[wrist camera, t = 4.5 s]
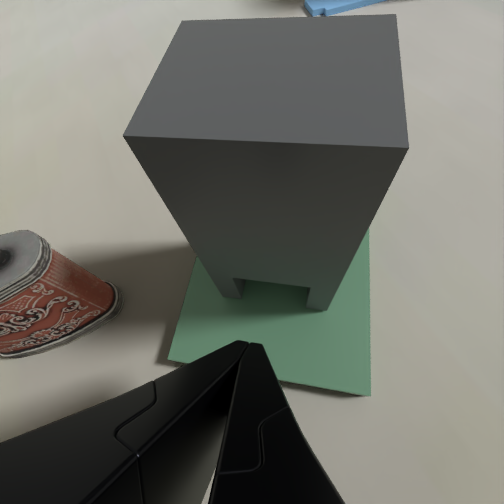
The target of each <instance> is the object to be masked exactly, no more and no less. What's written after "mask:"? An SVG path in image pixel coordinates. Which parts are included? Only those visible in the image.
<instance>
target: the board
mask: <svg viewBox="0 0 504 504" xmlns="http://www.w3.org/2000/svg"><path fill="white" fill-rule="evenodd" d="M307 288H308V287H303V286H295V285H287V284H279V283H271V282H263V281H255V280H247V279H246V280H245V285H244V290H243V295H242V299H237V298H229V297H222V295H221V293H220V292H219V290H218V289H217V287H216V285H215V284H214V282H213V280H212V279H211V277H210V276H209V274H208V272H207V271H206V269H205V268H204V266H203V264H202V263H201V261H200V260H199V258H198V256H197V257H196V260H195V264H194V267H193V271H192V274H191V278H190V281H189V285H188V288H187V292H186V295H185V299H184V302H183V306H182V309H181V313H180V316H179V320H178V323H177V327H176V330H175V334H174V337H173V341H172V345H171V348H170V352H169V355H168V360H171V361H174V362H180V363H185V364H188V363H190V362H193V361H195V360H197V359H199V358H201V357H203V356H205V355H207V354H209V353H211V352H213V351H215V350H217V349H219V348H221V347H224V346H226V345H228V344H230V343H232V342H234V341H236V340H242V341H247V342H249V343H251V342H254V343H260V344H262V345H263V346H264V349H265V351H266V353H267V355H268V358H269V360H270V362H271V365H272V367H273V369H274V372H275V374H276V376H277V378H278V381H284V382H289V383H295V384H300V385H306V386H311V387H317V388H322V389H328V390H333V391H339V392H344V393H350V394H355V395H361V396H371V365H370V274H369V228H368V230H367V232H366V234H365V236H364V238H363V240H362V242H361V244H360V246H359V248H358V250H357V252H356V254H355V256H354V258H353V260H352V262H351V264H350V266H349V268H348V270H347V272H346V274H345V276H344V278H343V280H342V282H341V284H340V286H339V288H338V290H337V292H336V294H335V296H334V298H333V300H332V302H331V304H330V306H329V308H328V310H327V311H324V310H316V309H309V308H306V299H307Z"/></svg>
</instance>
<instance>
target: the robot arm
mask: <svg viewBox="0 0 504 504" xmlns="http://www.w3.org/2000/svg"><path fill="white" fill-rule="evenodd" d="M216 465H217V466H216ZM215 468H216V470H215ZM214 470H215V475H214V479H213V483H212V488H211V492H210V497H209V501H208V504H345V502H344V501H343V499H342V497H341V496H340V494H339V493H338V491H337V489H336V488H335V486H334V485H333V483H332V481H331V480H330V478H329V477H328V475H327V473H326V472H325V470H324V469H323V467H322V465H321V464H320V462H319V460H318V459H317V457H316V456H315V454H314V452H313V451H312V449H311V447H310V445H309V444H308V442H307V440H306V439H305V437H304V435H303V433H302V431H301V429H300V427H299V425H298V423H297V421H296V419H295V417H294V414H293V412H292V410H291V408H290V406H289V404H288V401H287V399H286V397H285V395H284V392H283V390H282V388H281V385H280V383H279V381H278V378H277V376H276V374H275V372H274V369H273V367H272V365H271V362H270V360H269V358H268V355H267V353H266V351H265V349H264V346H263V345H262V344H260V343H254V342H251V343H249V342H247V341H242V340H236V341H234V342H232V343H230V344H228V345H226V346H224V347H221V348H219V349H217V350H215V351H213V352H211V353H209V354H207V355H205V356H203V357H201V358H199V359H197V360H195V361H193V362H190V363H188V364H186V365H184V366H182V367H180V368H178V369H176V370H174V371H172V372H170V373H168V374H166V375H164V376H162V377H159V378H157V379H155V380H154V381H150V382H148V383H146V384H144V385H142V386H140V387H138V388H135V389H133V390H131V391H129V392H127V393H124V394H122V395H120V396H118V397H115V398H113V399H110V400H108V401H105V402H103V403H101V404H98V405H96V406H93V407H90V408H88V409H85V410H83V411H80V412H78V413H75V414H73V415H70V416H68V417H65V418H63V419H60V420H58V421H55V422H52V423H50V424H47V425H45V426H42V427H40V428H37V429H35V430H32V431H30V432H27V433H25V434H22V435H19V436H17V437H14V438H12V439H9V440H7V441H4V442H2V443H0V504H201V503H202V500H203V498H204V495H205V493H206V490H207V488H208V485H209V483H210V480H211V478H212V475H213V473H214Z"/></svg>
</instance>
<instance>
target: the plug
mask: <svg viewBox="0 0 504 504" xmlns="http://www.w3.org/2000/svg"><path fill="white" fill-rule="evenodd" d="M123 137H124V139H125V140H126V142H127V143H128V145H129V147H130V148H131V150H132V151H133V153H134V155H135V156H136V158H137V159H138V161H139V163H140V164H141V166H142V168H143V169H144V171H145V172H146V174H147V176H148V177H149V179H150V180H151V182H152V184H153V185H154V187H155V189H156V190H157V192H158V193H159V195H160V197H161V198H162V200H163V201H164V203H165V205H166V206H167V208H168V209H169V211H170V213H171V214H172V216H173V218H174V219H175V221H176V222H177V224H178V226H179V227H180V229H181V230H182V232H183V234H184V235H185V237H186V239H187V240H188V242H189V243H190V245H191V247H192V248H193V250H194V251H195V253H196V255H197V256H198V258H199V260H200V261H201V263H202V264H203V266H204V268H205V269H206V271H207V272H208V274H209V276H210V277H211V279H212V280H213V282H214V284H215V285H216V287H217V289H218V290H219V292H220V293H221V295H222V297H229V298H237V299H242V295H243V290H244V285H245V280H246V279H247V280H255V281H263V282H271V283H279V284H287V285H295V286H303V287H308V288H307V299H306V308H309V309H316V310H324V311H327V310H328V308H329V306H330V304H331V302H332V300H333V298H334V296H335V294H336V292H337V290H338V288H339V286H340V284H341V282H342V280H343V278H344V276H345V274H346V272H347V270H348V268H349V266H350V264H351V262H352V260H353V258H354V256H355V254H356V252H357V250H358V248H359V246H360V244H361V242H362V240H363V238H364V236H365V234H366V232H367V230H368V228H369V226H370V224H371V222H372V220H373V218H374V216H375V214H376V212H377V210H378V208H379V206H380V204H381V202H382V200H383V198H384V196H385V194H386V192H387V190H388V188H389V186H390V184H391V182H392V180H393V179H394V177H395V175H396V173H397V171H398V169H399V167H400V165H401V163H402V161H403V159H404V157H405V155H406V153H407V151H408V149H409V143H408V133H407V122H406V112H405V102H404V91H403V81H402V71H401V60H400V50H399V40H398V29H397V19H396V14H387V15H354V16H321V17H288V18H255V19H222V20H190V21H182V22H181V24H180V26H179V28H178V30H177V31H176V33H175V35H174V37H173V39H172V41H171V43H170V45H169V47H168V49H167V51H166V53H165V55H164V57H163V59H162V61H161V62H160V64H159V66H158V68H157V70H156V72H155V74H154V76H153V78H152V80H151V82H150V84H149V86H148V88H147V90H146V91H145V93H144V95H143V97H142V99H141V101H140V103H139V105H138V107H137V109H136V111H135V113H134V115H133V117H132V119H131V121H130V122H129V124H128V126H127V128H126V130H125V132H124V134H123Z"/></svg>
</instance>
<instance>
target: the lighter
mask: <svg viewBox="0 0 504 504" xmlns="http://www.w3.org/2000/svg"><path fill="white" fill-rule="evenodd" d="M122 306H123V294H122V291H121V290H120V289H119V288H118V287H117V286H115V285H114V284H112V283H111V282H108V281H102V280H101V279H99V278H97V277H96V276H94V275H93V274H91V273H90V272H88V271H86V270H85V269H83V268H82V267H80V266H78V265H77V264H75V263H74V262H72V261H71V260H69V259H67V258H66V257H64V256H63V255H61V254H60V253H58V252H56V251H55V250H53V249H52V248H51V246H50V244H49V243H48V242H47V241H46V240H45V239H43V238H42V237H40V236H39V235H37V234H36V233H34V232H32V231H29V230H19V231H15V232H11V233H6V234H2V235H0V355H2V356H4V357H12V358H22V357H27V356H31V355H35V354H39V353H44V352H47V351H49V350H52V349H55V348H58V347H61V346H63V345H66V344H69V343H71V342H73V341H75V340H77V339H79V338H81V337H83V336H85V335H87V334H89V333H91V332H93V331H94V330H96V329H98V328H99V327H101V326H102V325H104V324H106V323H107V322H109V321H110V320H112V319H113V318H115V317H116V316H117V315H118V314H119V312H120V311H121V309H122Z"/></svg>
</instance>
